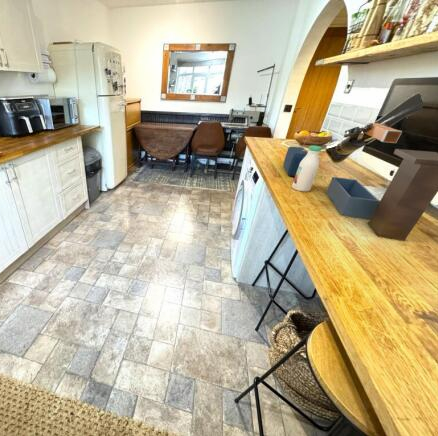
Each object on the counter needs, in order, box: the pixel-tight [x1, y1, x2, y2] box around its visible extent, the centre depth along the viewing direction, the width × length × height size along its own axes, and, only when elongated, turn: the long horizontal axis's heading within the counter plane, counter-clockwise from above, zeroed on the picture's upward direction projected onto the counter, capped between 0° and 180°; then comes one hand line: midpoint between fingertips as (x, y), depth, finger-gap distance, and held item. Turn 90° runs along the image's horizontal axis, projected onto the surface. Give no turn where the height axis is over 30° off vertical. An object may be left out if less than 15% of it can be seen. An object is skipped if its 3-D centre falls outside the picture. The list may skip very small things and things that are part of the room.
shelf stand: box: [367, 148, 438, 242], centre depth 77 cm, size 10×12×26 cm
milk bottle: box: [291, 145, 322, 193], centre depth 109 cm, size 8×8×20 cm
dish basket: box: [325, 176, 380, 220], centre depth 98 cm, size 9×23×8 cm, turn 159°
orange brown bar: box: [365, 122, 403, 144], centre depth 86 cm, size 18×4×4 cm, turn 159°
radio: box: [282, 137, 308, 178], centre depth 130 cm, size 21×9×20 cm, turn 162°
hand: (378, 126), depth 88 cm, fingers closed on orange brown bar, 3 cm apart
